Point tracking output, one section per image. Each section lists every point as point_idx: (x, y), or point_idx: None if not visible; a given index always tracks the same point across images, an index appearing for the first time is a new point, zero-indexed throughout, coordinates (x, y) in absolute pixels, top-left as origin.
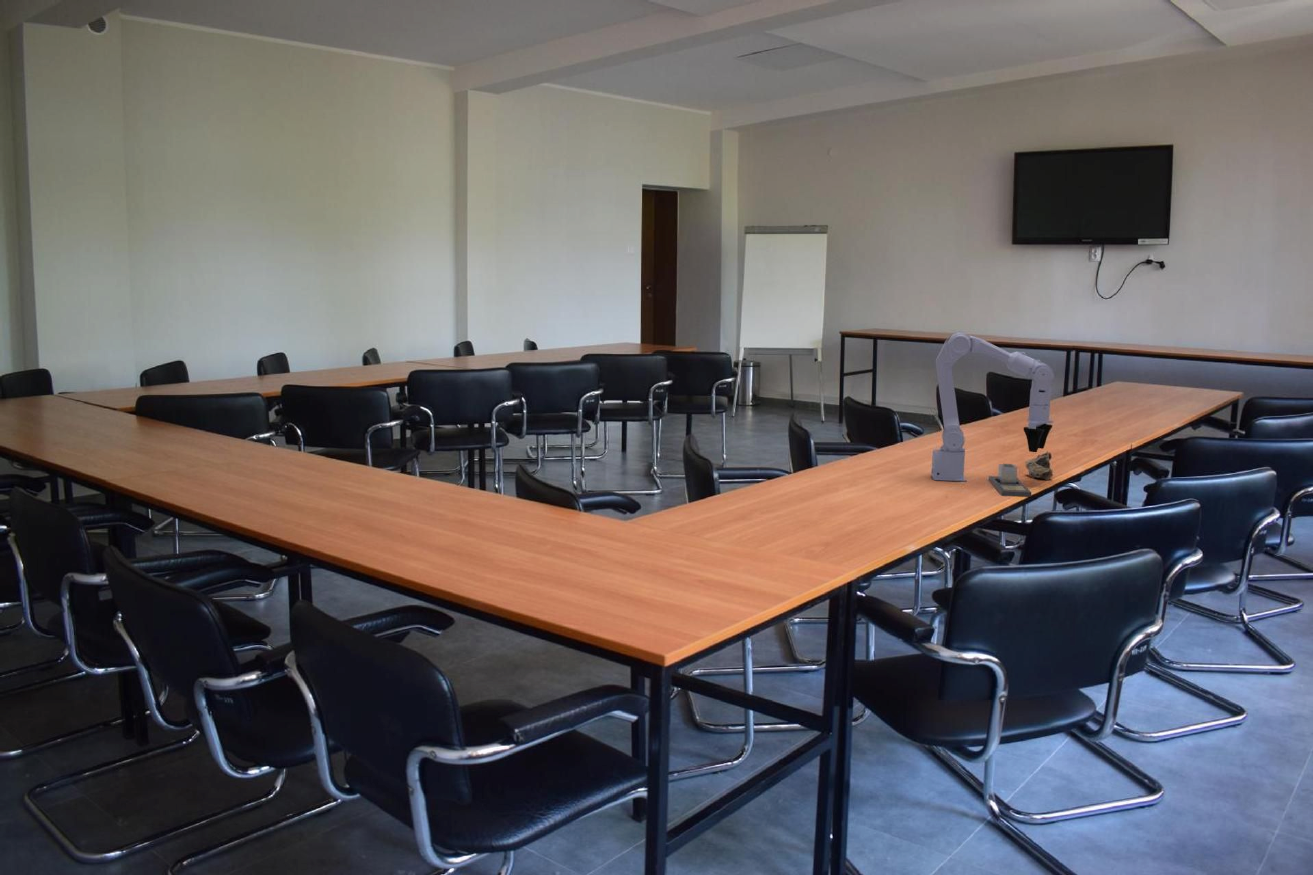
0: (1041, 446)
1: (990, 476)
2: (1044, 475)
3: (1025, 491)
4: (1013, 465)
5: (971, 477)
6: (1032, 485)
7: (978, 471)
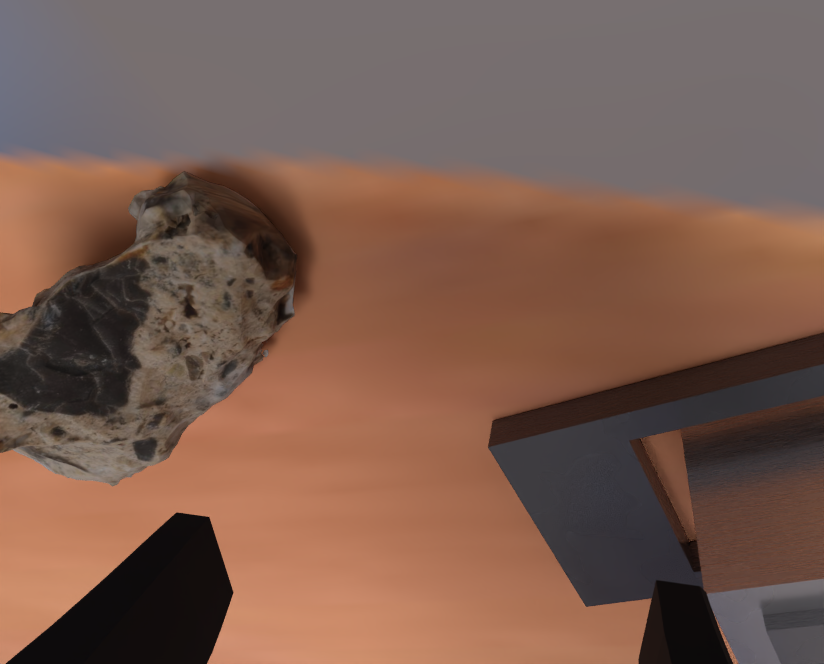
0: (199, 566)
1: (592, 597)
2: (266, 246)
3: None
4: (772, 599)
5: (549, 656)
6: (634, 268)
7: (306, 631)
